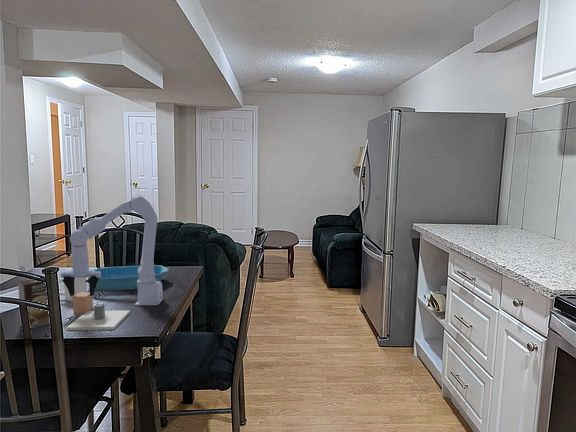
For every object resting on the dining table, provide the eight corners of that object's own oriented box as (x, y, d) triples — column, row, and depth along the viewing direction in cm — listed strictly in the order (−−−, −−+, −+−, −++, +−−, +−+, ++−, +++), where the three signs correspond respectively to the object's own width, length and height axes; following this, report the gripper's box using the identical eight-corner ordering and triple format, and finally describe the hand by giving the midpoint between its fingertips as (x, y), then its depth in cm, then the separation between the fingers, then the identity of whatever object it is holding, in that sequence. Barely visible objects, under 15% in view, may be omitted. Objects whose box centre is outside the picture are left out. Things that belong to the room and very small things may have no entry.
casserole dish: (169, 276, 210) (169, 262, 209) (167, 289, 189) (166, 274, 188) (91, 281, 202) (90, 267, 201) (80, 295, 180) (79, 279, 179)
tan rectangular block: (93, 308, 163) (92, 292, 162) (87, 313, 158) (86, 296, 157) (79, 308, 163) (78, 292, 162) (73, 313, 158) (72, 296, 157)
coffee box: (27, 330, 142) (23, 285, 140) (20, 325, 146) (16, 281, 144) (55, 322, 149) (52, 279, 147) (48, 318, 153) (45, 276, 151)
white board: (129, 312, 158) (129, 297, 157) (113, 329, 142) (112, 312, 141) (87, 313, 157) (86, 298, 157) (66, 330, 142) (65, 313, 141)
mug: (52, 302, 170) (50, 278, 168) (59, 296, 178) (57, 273, 176) (83, 300, 172) (82, 276, 171) (89, 294, 180) (87, 271, 179)
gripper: (55, 263, 154) (57, 298, 155) (94, 263, 154) (96, 298, 156) (65, 259, 161) (67, 292, 162) (102, 259, 161) (104, 292, 163)
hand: (82, 295), depth 160 cm, fingers open, 7 cm apart
